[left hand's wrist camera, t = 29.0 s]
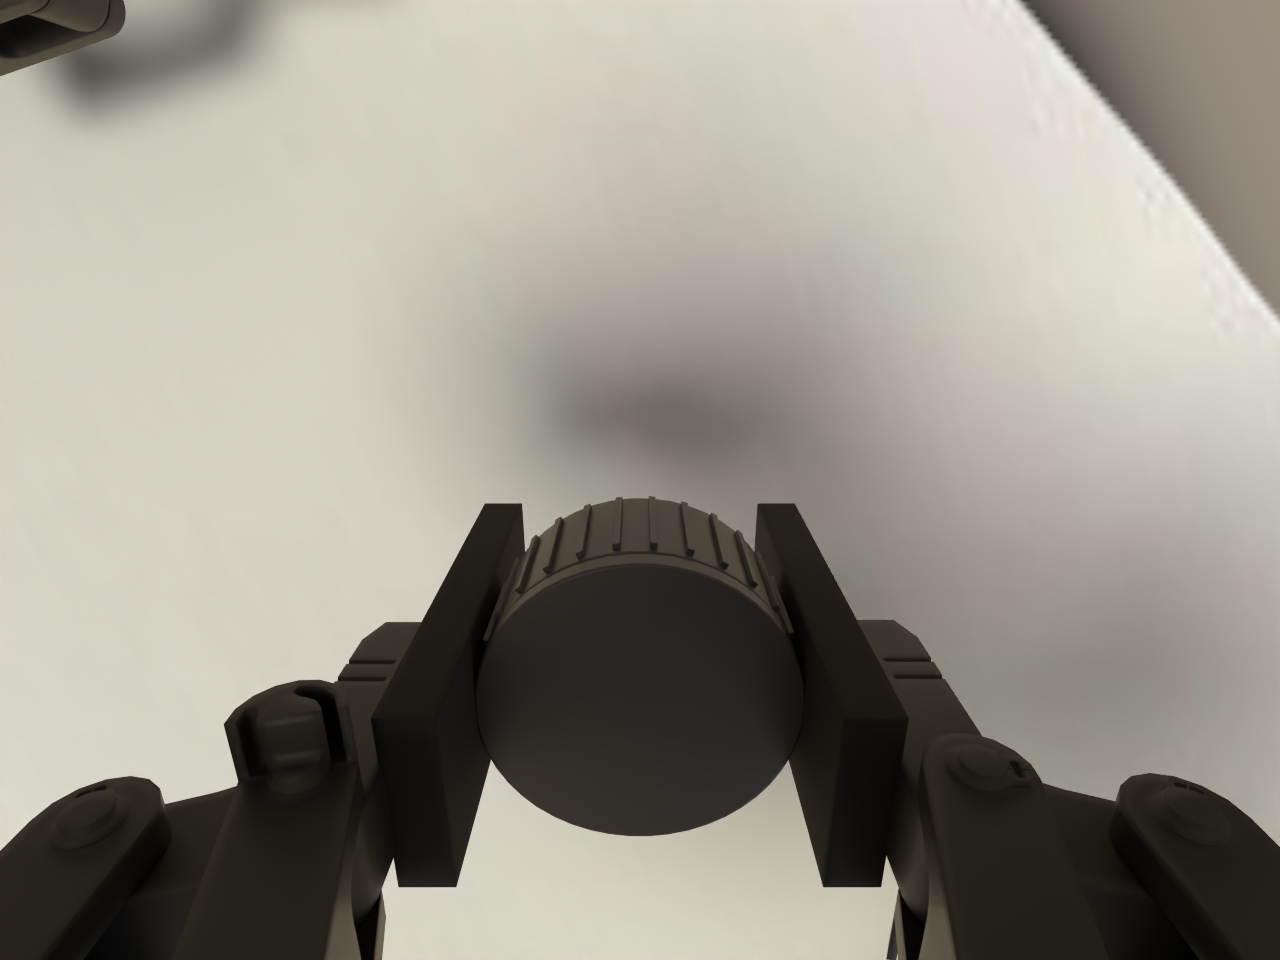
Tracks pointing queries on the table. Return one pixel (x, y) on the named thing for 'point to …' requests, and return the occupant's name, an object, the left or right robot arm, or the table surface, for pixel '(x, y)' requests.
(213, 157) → the table surface
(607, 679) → the lid
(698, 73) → the table surface
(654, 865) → the table surface
